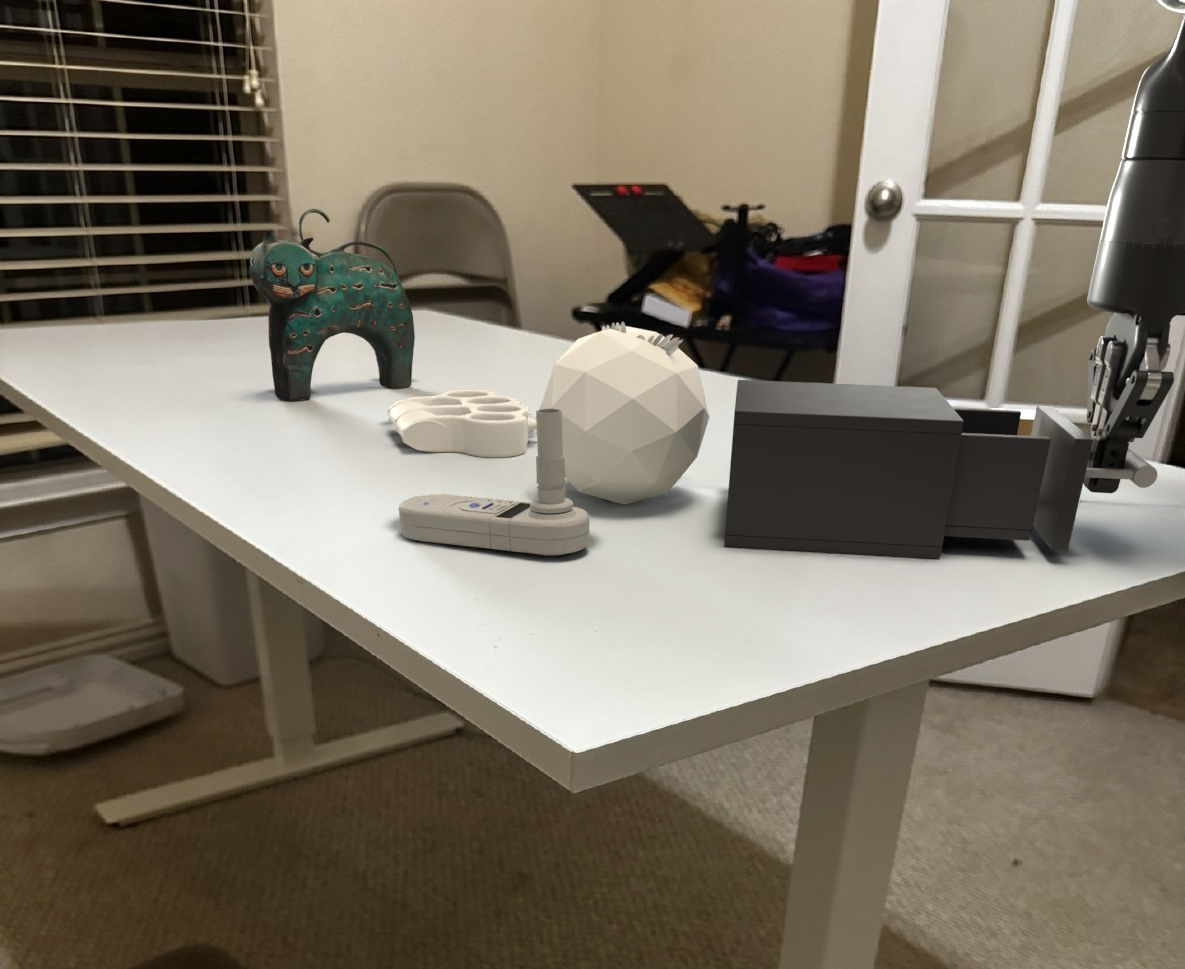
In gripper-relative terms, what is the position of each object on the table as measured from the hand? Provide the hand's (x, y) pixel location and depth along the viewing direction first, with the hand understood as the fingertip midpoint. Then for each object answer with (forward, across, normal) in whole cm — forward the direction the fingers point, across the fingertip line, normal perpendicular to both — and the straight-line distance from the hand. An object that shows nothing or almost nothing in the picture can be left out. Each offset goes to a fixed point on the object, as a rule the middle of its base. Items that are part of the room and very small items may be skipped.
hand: (1099, 490), depth 85 cm
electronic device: (+4, -9, +45) cm, 46 cm away
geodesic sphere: (+4, +6, +37) cm, 38 cm away
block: (+4, +25, +1) cm, 25 cm away
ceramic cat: (+4, +49, +76) cm, 91 cm away
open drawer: (+3, 0, +7) cm, 8 cm away
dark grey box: (+4, 0, +20) cm, 20 cm away
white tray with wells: (+4, +26, +55) cm, 61 cm away
